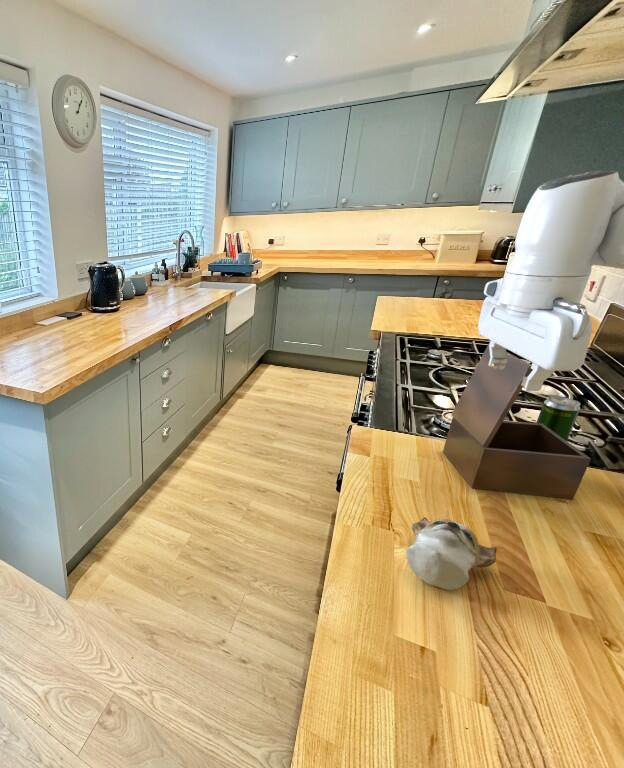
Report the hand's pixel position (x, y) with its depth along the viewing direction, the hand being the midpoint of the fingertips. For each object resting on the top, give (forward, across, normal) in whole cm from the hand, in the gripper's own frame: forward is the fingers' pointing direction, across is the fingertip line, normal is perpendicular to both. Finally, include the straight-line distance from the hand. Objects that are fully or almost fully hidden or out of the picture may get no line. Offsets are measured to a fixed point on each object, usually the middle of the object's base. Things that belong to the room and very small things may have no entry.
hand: (512, 378), depth 68 cm
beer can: (+25, +24, -23) cm, 42 cm away
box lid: (+8, +12, -4) cm, 15 cm away
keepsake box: (+25, +12, -10) cm, 30 cm away
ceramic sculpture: (+25, -18, +11) cm, 33 cm away
